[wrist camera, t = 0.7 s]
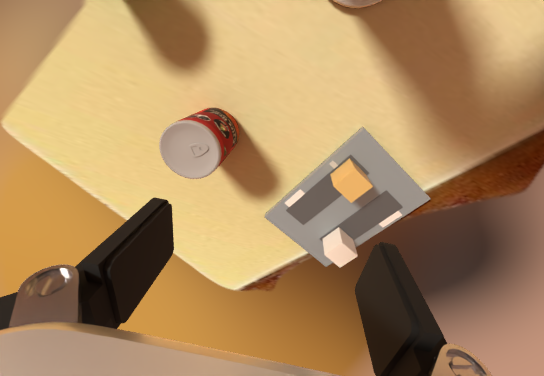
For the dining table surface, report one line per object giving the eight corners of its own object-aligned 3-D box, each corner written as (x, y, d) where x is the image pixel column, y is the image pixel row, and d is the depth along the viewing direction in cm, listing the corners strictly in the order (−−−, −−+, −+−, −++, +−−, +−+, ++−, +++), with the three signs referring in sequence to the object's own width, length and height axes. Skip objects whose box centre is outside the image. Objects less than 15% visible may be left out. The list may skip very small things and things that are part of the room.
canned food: (249, 138, 39) (232, 161, 30) (212, 160, 42) (186, 189, 32) (221, 96, 37) (192, 107, 27) (184, 123, 39) (146, 142, 30)
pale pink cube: (338, 227, 44) (342, 242, 40) (353, 239, 45) (358, 256, 41) (322, 238, 45) (324, 254, 41) (336, 250, 46) (339, 267, 42)
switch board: (362, 126, 36) (364, 128, 35) (427, 195, 40) (431, 199, 39) (265, 213, 46) (264, 217, 45) (325, 262, 50) (326, 267, 49)
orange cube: (349, 158, 38) (355, 168, 34) (365, 174, 38) (373, 186, 35) (330, 174, 39) (333, 186, 35) (346, 189, 40) (351, 203, 36)
